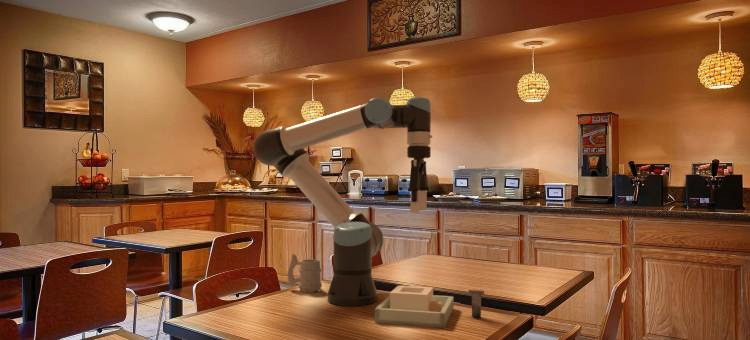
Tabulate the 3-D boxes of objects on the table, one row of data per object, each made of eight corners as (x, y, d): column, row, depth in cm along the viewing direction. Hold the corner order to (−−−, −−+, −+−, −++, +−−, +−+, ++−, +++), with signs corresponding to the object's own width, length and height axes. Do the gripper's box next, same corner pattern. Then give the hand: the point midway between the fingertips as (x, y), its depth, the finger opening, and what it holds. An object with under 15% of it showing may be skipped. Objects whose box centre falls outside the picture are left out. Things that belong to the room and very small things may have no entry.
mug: (318, 293, 170) (318, 256, 170) (283, 291, 172) (283, 255, 172) (324, 288, 178) (324, 253, 178) (291, 287, 180) (291, 252, 180)
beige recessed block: (390, 315, 139) (390, 292, 140) (398, 306, 149) (398, 285, 149) (438, 318, 136) (438, 295, 136) (443, 309, 146) (443, 287, 146)
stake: (468, 318, 140) (468, 291, 140) (469, 315, 142) (469, 289, 142) (483, 319, 139) (483, 292, 139) (484, 316, 141) (484, 290, 141)
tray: (374, 322, 135) (374, 308, 135) (392, 304, 155) (392, 292, 155) (444, 327, 131) (444, 313, 131) (453, 308, 150) (453, 296, 150)
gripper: (423, 142, 157) (423, 213, 156) (436, 147, 181) (436, 209, 180) (399, 143, 159) (399, 213, 158) (414, 148, 183) (414, 209, 182)
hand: (418, 211), depth 169 cm, fingers open, 13 cm apart
